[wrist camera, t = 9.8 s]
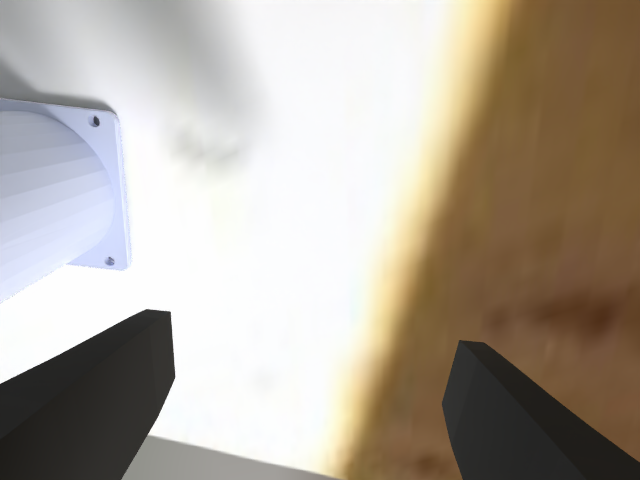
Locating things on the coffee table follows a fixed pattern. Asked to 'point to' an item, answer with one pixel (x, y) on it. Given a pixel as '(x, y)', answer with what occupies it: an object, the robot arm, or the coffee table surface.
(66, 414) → the robot arm
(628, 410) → the coffee table surface
